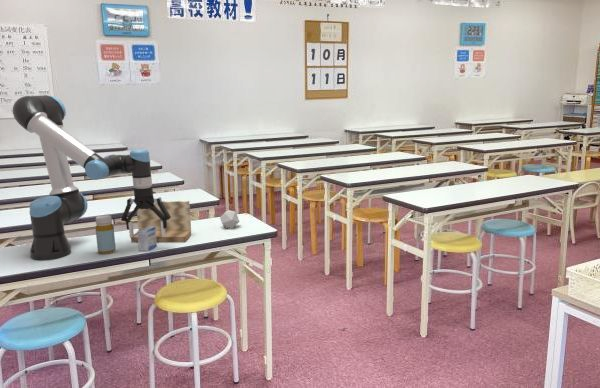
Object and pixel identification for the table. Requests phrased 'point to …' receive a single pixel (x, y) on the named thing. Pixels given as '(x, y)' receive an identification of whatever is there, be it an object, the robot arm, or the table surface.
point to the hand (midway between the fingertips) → (147, 236)
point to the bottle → (105, 234)
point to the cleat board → (176, 224)
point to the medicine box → (147, 238)
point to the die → (229, 219)
